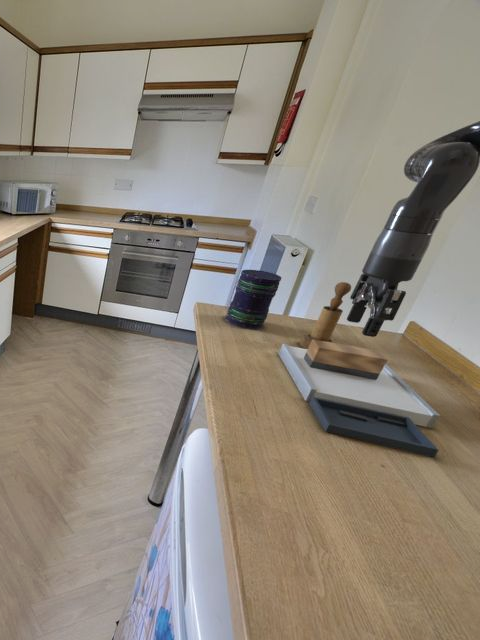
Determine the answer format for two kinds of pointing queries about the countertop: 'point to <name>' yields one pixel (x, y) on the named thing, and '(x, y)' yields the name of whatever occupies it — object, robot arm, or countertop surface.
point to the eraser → (345, 359)
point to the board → (358, 389)
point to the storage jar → (252, 299)
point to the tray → (372, 427)
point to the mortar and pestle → (327, 317)
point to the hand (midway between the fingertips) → (360, 328)
